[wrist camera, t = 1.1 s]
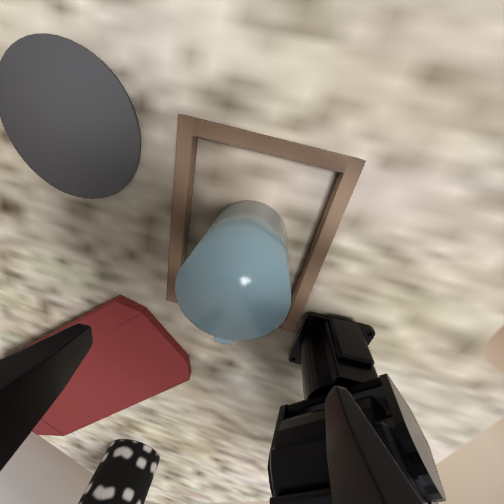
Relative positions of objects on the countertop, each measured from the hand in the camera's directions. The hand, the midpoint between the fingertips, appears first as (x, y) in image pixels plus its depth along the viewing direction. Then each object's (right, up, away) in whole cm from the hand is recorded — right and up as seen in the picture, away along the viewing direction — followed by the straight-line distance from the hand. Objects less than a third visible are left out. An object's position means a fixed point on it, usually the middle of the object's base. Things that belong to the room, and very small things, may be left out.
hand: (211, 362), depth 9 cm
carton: (-18, -9, +21) cm, 29 cm away
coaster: (-11, +13, +8) cm, 19 cm away
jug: (+1, +4, +11) cm, 12 cm away
